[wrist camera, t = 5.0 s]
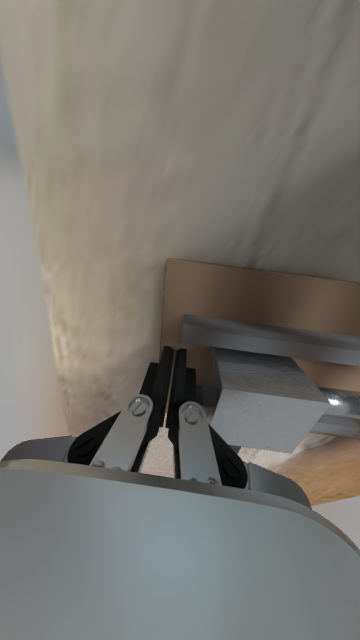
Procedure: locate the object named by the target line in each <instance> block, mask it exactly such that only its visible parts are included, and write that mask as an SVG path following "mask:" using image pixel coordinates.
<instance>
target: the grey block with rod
mask: <svg viewBox="0 0 360 640" xmlns="http://www.w3.org/2000/svg"><path fill="white" fill-rule="evenodd" d="M202 397H203V409H204V411H205V413H206V417H207V422H208V424H209V425H210V426H211V427H212V428H213V429H214V430H215V431H216V432H217V433H218V434H219V435H220V436H221V438H222V439H223V440H224V441H225V442H226V443H227V444H228V445H229V446H230V447H231V448H232V449H233V450H234V452H235V453H236V454H238V452H239V450H240V448H241V446H242V447H249V448H256V449H263V450H270V451H277V452H284V453H292V452H293V451H294V449H295V448H296V447H297V446H298V444H299V443H300V442H301V441H302V440H303V438H304V437H305V436H306V435H307V433H308V432H309V431H310V430H311V428H312V427H313V426H314V425H315V423H316V422H317V421H318V420H319V419H320V417H321V416H322V415H323V414H327V415H335V416H342V417H349V418H356V419H360V392H357V391H350V390H342V389H335V388H327V387H320V386H316V385H315V384H314V383H313V382H312V381H311V379H310V378H309V377H308V376H307V375H306V374H305V373H304V371H303V370H302V369H301V368H300V367H299V366H298V365H297V363H296V362H295V361H294V360H293V359H292V358H291V357H286V356H278V355H271V354H263V353H256V352H248V351H241V350H233V349H226V348H218V347H211V346H210V348H209V353H208V357H207V361H206V365H205V370H204V374H203V378H202Z"/></svg>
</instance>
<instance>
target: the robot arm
mask: <svg viewBox="0 0 360 640" xmlns="http://www.w3.org/2000/svg"><path fill="white" fill-rule="evenodd" d="M173 355H174V349H172V347H171V346H164V348H163V352H162V356H161V359H160V363H153V362H151V363H150V365H149V368H148V371H147V374H146V376H145V379H144V382H143V385H142V388H141V391H140V393H139V395H135V396H133V397H131V398H130V399H129V400H128V401H127V402H126V404H125V406H124V407H123V409H122V411H120V412H119V413H117V414H115V415H113V416H112V417H110V418H108V419H107V420H105V421H103V422H101V423H100V424H98V425H96V426H95V427H93V428H91V429H89V430H88V431H86V432H84V433H83V434H81V435H80V436H78V437H72V436H63V437H54V438H44V439H36V440H28V441H24V442H21V443H20V444H18V445H16V446H14V447H13V448H12V449H11V450H9V451H8V452H7V454H6V455H5V456H4V457H3V458H2V460H1V461H0V640H360V550H359V548H358V547H357V546H356V545H355V544H354V543H353V541H352V540H351V539H350V538H349V537H348V536H347V535H346V534H344V533H343V532H342V531H341V530H340V529H339V528H338V527H336V526H335V525H334V524H332V523H331V522H330V521H329V520H327V519H325V518H324V517H323V516H321V515H320V514H318V513H317V512H315V511H313V510H312V508H311V505H310V502H309V500H308V498H307V496H306V494H305V493H304V491H303V490H302V488H301V487H300V486H299V485H298V484H297V483H296V482H294V481H292V480H291V479H289V478H287V477H284V476H282V475H279V474H277V473H275V472H272V471H270V470H268V469H265V468H263V467H261V466H258V465H256V464H253V463H251V462H249V463H246V462H244V461H242V460H241V458H240V457H239V456H238V455H237V454H236V453H235V452H234V450H233V449H232V448H231V447H230V446H229V445H228V444H227V443H226V442H225V441H224V440H223V439H222V438H221V436H220V435H219V434H218V433H217V432H216V431H215V430H214V429H213V428H212V427H211V426H210V425H209V424H208V422H207V417H206V413H205V411H204V409H203V408H202V406H201V405H199V404H198V403H197V401H196V369H195V368H188V367H186V360H187V349H185V348H180V349H179V350H178V349H177V350H176V356H175V363H174V370H173V377H172V383H171V390H170V397H169V405H168V412H167V420H166V427H165V428H169V432H168V438H169V439H170V441H171V442H172V444H173V473H174V478H170V477H163V476H156V475H150V474H143V473H140V471H141V468H142V465H143V462H144V459H145V456H146V453H147V451H148V448H149V445H150V441H151V440H152V439H153V438H155V437H156V436H157V433H158V431H159V427H163V422H164V416H165V410H166V403H167V397H168V391H169V385H170V378H171V371H172V363H173Z"/></svg>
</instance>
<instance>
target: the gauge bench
mask: <svg viewBox="0 0 360 640" xmlns="http://www.w3.org/2000/svg"><path fill="white" fill-rule="evenodd" d="M164 346H171V347H172V349H174V355H173V363H172V371H171V378H170V385H169V391H168V397H167V403H166V410H165V412H168V405H169V397H170V390H171V383H172V377H173V370H174V363H175V356H176V350H177V349H178V350H179V349H180V348H185V349H187V360H186V367H188V368H195V369H196V401H197V403H198V404H199V405H201V406H202V408H203V397H202V378H203V374H204V370H205V365H206V361H207V357H208V353H209V348H210V346H211V347H218V348H226V349H233V350H241V351H248V352H256V353H263V354H271V355H278V356H286V357H291V358H292V359H293V360H294V361H295V362H296V363H297V365H298V366H299V367H300V368H301V369H302V370H303V371H304V373H305V374H306V375H307V376H308V377H309V378H310V379H311V381H312V382H313V383H314V384H315V385H316V386H320V387H327V388H335V389H342V390H350V391H357V392H360V282H352V281H344V280H336V279H328V278H320V277H312V276H304V275H296V274H288V273H280V272H272V271H264V270H256V269H248V268H240V267H232V266H224V265H216V264H209V263H201V262H193V261H185V260H177V259H169V258H168V259H167V260H166V270H165V284H164V299H163V314H162V329H161V343H160V358H159V363H160V359H161V356H162V352H163V348H164ZM309 432H311V433H318V434H325V435H332V436H339V437H346V438H354V439H360V419H356V418H349V417H342V416H335V415H327V414H323V415H322V416H321V417H320V419H319V420H318V421H317V422H316V423H315V425H314V426H313V427H312V428H311V430H310V431H309Z"/></svg>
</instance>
